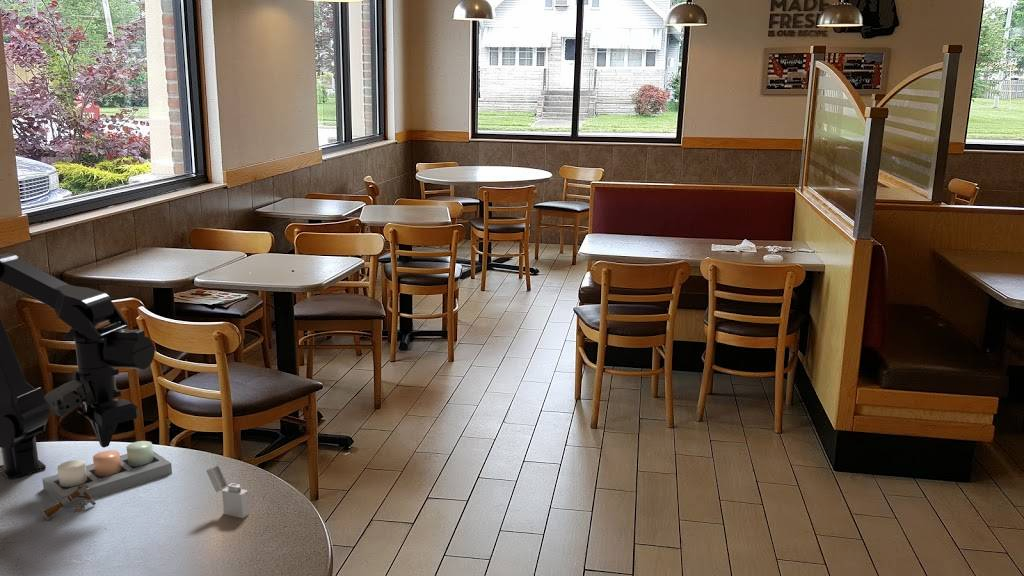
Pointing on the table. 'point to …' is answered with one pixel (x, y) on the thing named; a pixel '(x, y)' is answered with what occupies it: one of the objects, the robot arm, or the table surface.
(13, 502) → the table surface
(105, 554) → the table surface
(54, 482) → the button panel
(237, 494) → the lighter
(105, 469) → the terracotta button
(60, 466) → the cream button
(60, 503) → the wooden post with brackets
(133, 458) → the sage button
